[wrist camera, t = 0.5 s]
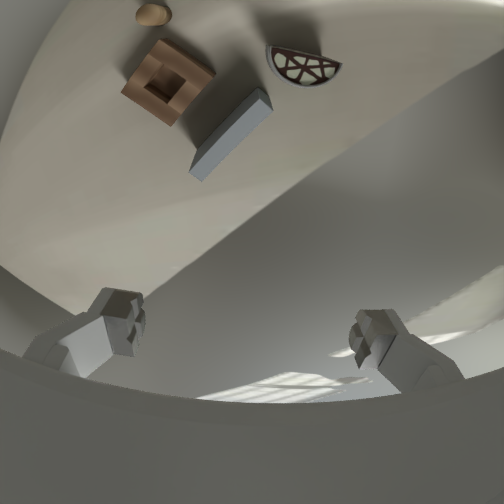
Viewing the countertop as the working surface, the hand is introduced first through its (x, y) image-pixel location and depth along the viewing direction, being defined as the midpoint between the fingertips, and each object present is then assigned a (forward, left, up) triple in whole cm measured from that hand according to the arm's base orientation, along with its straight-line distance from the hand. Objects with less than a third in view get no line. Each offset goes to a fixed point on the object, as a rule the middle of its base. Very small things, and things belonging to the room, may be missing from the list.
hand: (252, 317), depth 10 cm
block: (+9, -11, -49) cm, 51 cm away
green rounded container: (-8, +4, -49) cm, 50 cm away
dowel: (0, -21, -49) cm, 53 cm away
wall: (+9, +4, -49) cm, 50 cm away
